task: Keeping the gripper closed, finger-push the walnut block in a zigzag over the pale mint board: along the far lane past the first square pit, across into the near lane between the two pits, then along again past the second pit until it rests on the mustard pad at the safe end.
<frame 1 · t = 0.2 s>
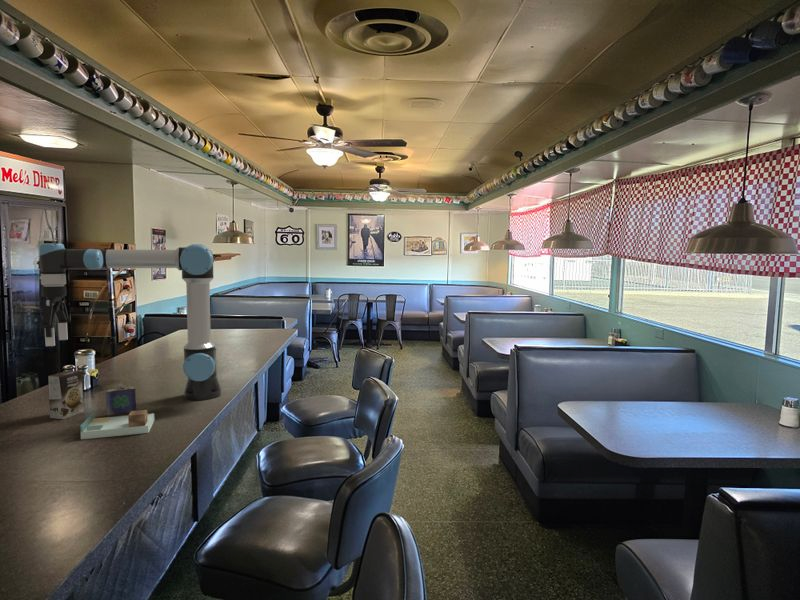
hand: (57, 342, 183), 28 cm above the diner counter, tool pointing down, fingers open, 13 cm apart
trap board: (119, 429, 172), on the diner counter
walnut block: (138, 423, 170), point 2 cm above the diner counter, touching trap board
coffee box: (67, 415, 187), on the diner counter
flask: (121, 414, 189), on the diner counter
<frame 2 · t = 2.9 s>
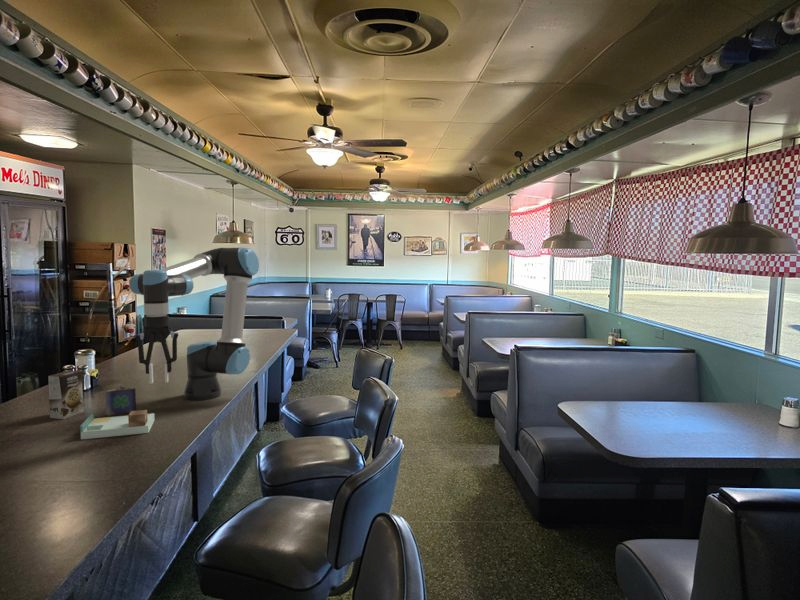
hand: (159, 382, 171), 17 cm above the diner counter, tool pointing down, fingers open, 4 cm apart
nothing on the diner counter moved.
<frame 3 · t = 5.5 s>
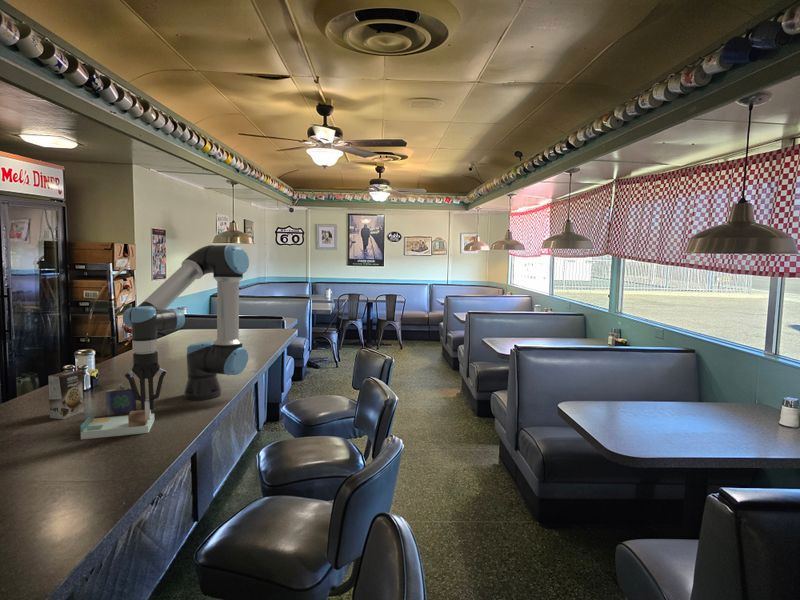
hand: (148, 418, 171), 4 cm above the diner counter, tool pointing down, fingers closed
walnut block: (138, 423, 170), point 2 cm above the diner counter, touching gripper, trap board
everything else where it was.
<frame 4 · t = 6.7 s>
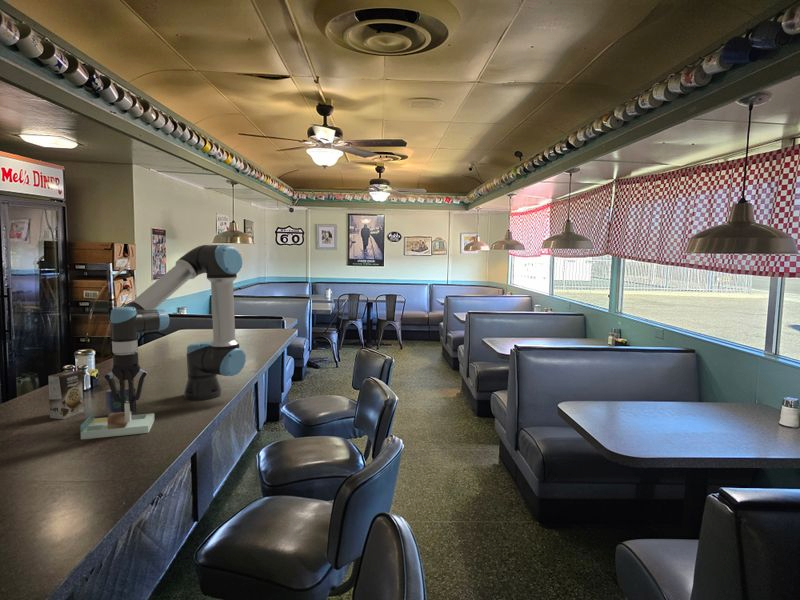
hand: (128, 420, 169), 4 cm above the diner counter, tool pointing down, fingers closed
walnut block: (118, 425, 168), point 2 cm above the diner counter, touching gripper, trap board
everything else where it was.
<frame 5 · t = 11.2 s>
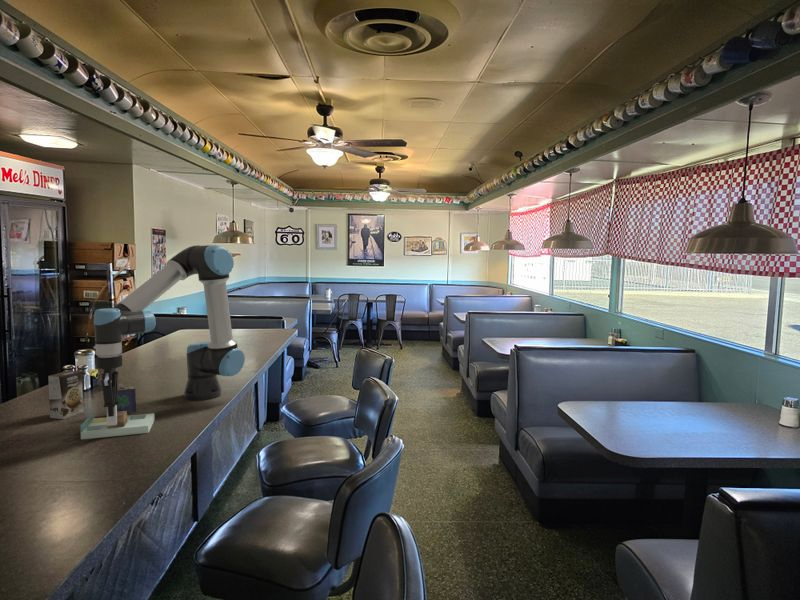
hand: (112, 424, 166), 4 cm above the diner counter, tool pointing down, fingers closed
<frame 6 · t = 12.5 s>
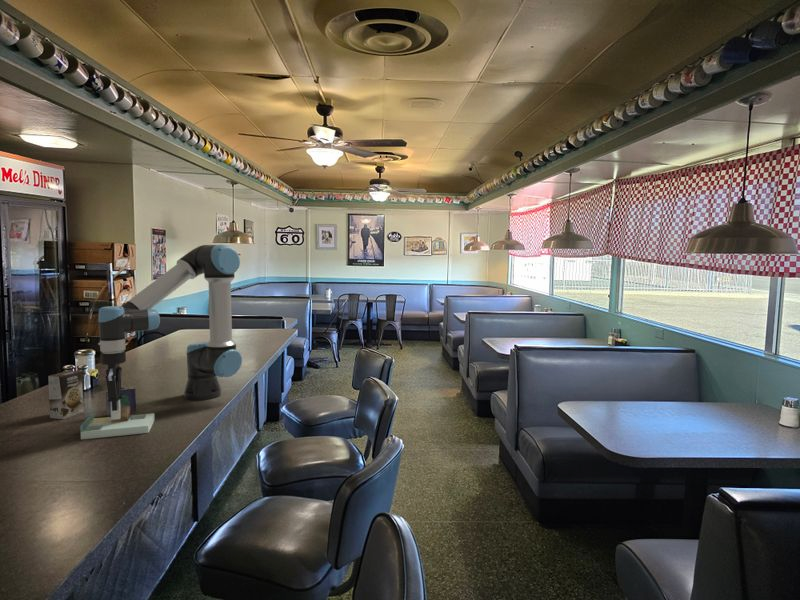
hand: (116, 418, 171), 4 cm above the diner counter, tool pointing down, fingers closed
walnut block: (121, 419, 175), point 2 cm above the diner counter, touching gripper, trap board
everything else where it was.
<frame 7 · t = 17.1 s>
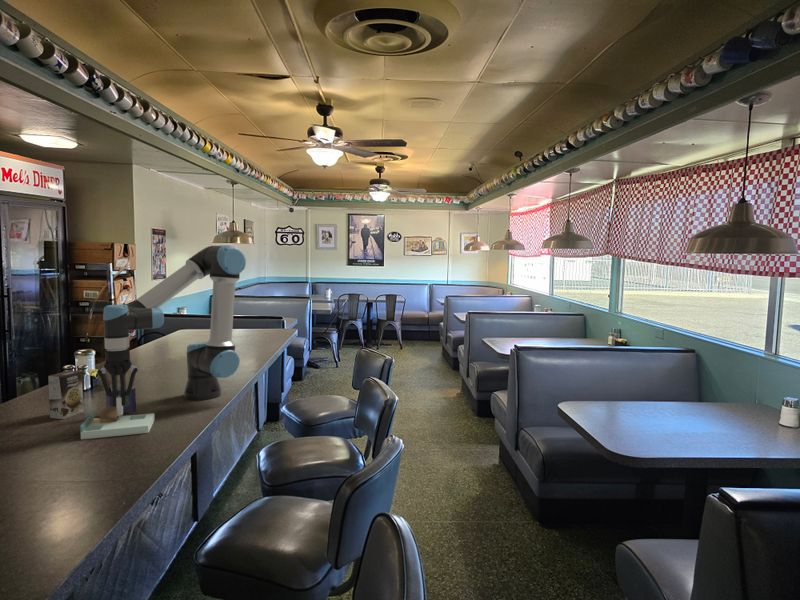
hand: (120, 414, 176), 4 cm above the diner counter, tool pointing down, fingers closed
walnut block: (109, 420, 174), point 3 cm above the diner counter, touching gripper
everything else where it was.
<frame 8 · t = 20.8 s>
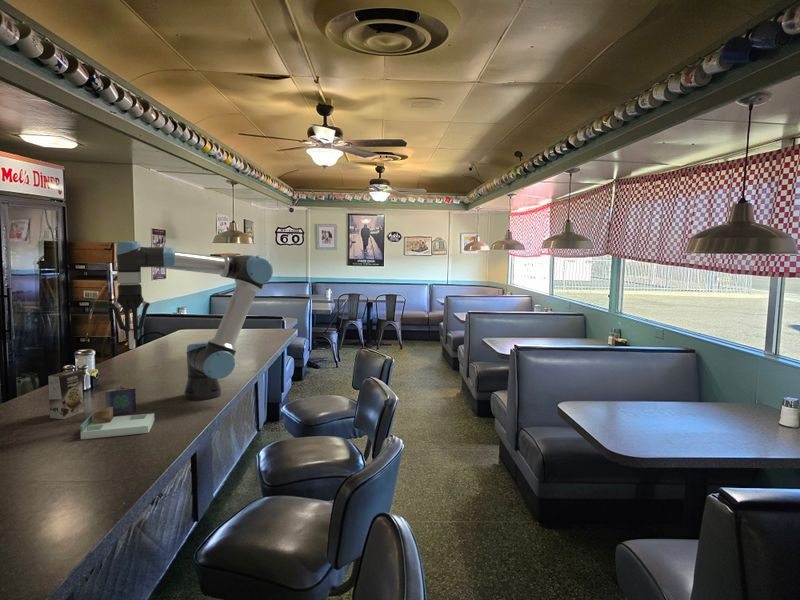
hand: (132, 348, 181), 26 cm above the diner counter, tool pointing down, fingers closed
walnut block: (103, 420, 173), point 2 cm above the diner counter, touching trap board
everything else where it was.
at the end: walnut block inside the target area (2.0 cm from its centre), point 2.5 cm above the diner counter; walnut block tilted 0°; walnut block touching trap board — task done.
